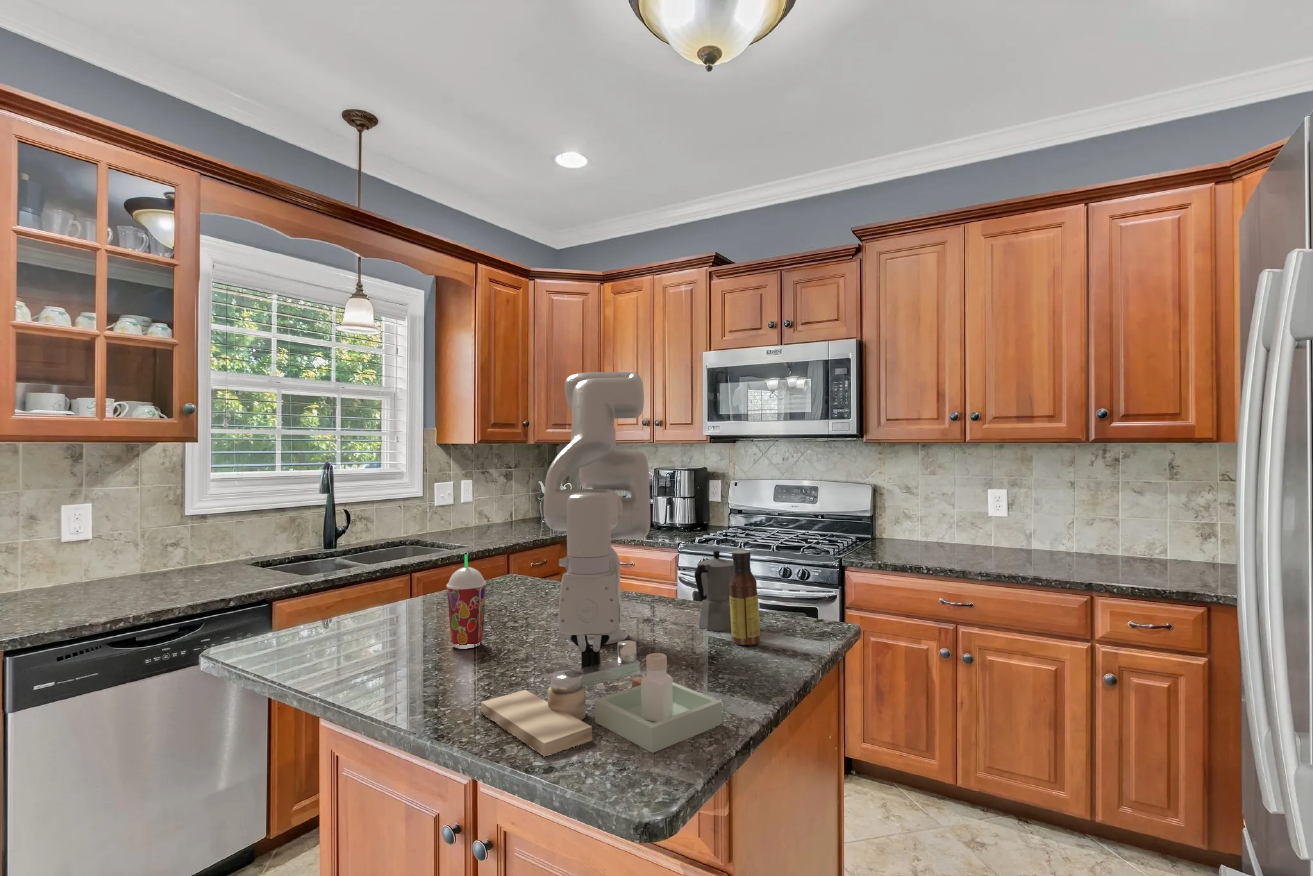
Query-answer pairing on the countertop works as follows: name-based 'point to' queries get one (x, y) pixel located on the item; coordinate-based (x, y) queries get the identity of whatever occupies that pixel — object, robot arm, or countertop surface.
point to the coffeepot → (714, 592)
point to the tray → (685, 722)
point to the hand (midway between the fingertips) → (591, 672)
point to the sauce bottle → (743, 601)
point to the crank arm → (598, 671)
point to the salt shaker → (656, 689)
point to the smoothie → (466, 605)
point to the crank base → (544, 718)
